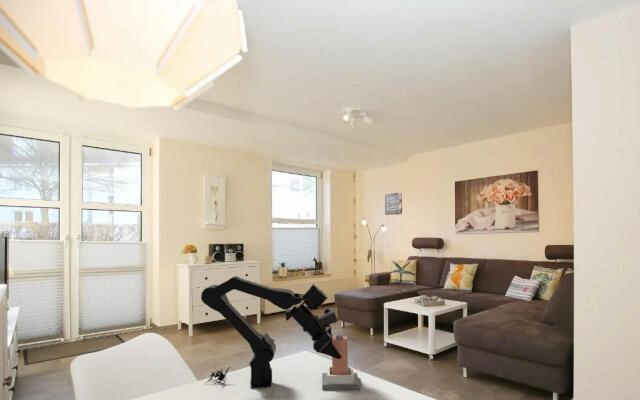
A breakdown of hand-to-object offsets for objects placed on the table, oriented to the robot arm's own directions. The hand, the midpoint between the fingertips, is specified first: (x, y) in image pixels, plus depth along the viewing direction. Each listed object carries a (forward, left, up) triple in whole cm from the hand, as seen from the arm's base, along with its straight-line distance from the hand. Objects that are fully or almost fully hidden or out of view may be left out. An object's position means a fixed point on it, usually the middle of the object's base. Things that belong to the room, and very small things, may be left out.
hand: (339, 353), depth 128 cm
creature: (-40, +12, -10) cm, 43 cm away
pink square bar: (0, 0, -8) cm, 8 cm away
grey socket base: (0, 0, -10) cm, 10 cm away
